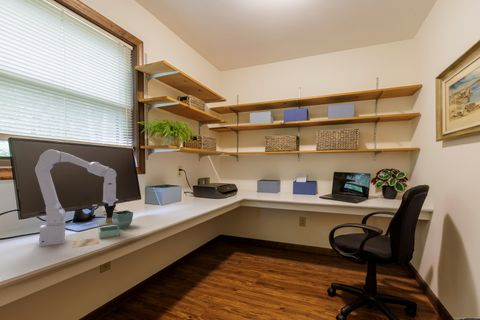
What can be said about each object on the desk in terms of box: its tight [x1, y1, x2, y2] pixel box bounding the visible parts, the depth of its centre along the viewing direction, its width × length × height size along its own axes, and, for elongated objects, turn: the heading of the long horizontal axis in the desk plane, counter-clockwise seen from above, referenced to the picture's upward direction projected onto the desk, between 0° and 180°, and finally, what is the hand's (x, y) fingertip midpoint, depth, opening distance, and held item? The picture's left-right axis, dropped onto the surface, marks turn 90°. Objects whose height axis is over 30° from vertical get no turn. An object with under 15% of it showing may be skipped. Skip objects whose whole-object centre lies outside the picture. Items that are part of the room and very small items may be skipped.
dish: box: [97, 225, 121, 240], centre depth 119 cm, size 9×9×4 cm
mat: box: [72, 236, 100, 249], centre depth 108 cm, size 10×10×1 cm
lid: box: [97, 214, 119, 228], centre depth 119 cm, size 9×9×6 cm
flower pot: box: [112, 210, 134, 230], centre depth 133 cm, size 9×9×9 cm
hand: (109, 217), depth 119 cm, fingers closed on lid, 3 cm apart
